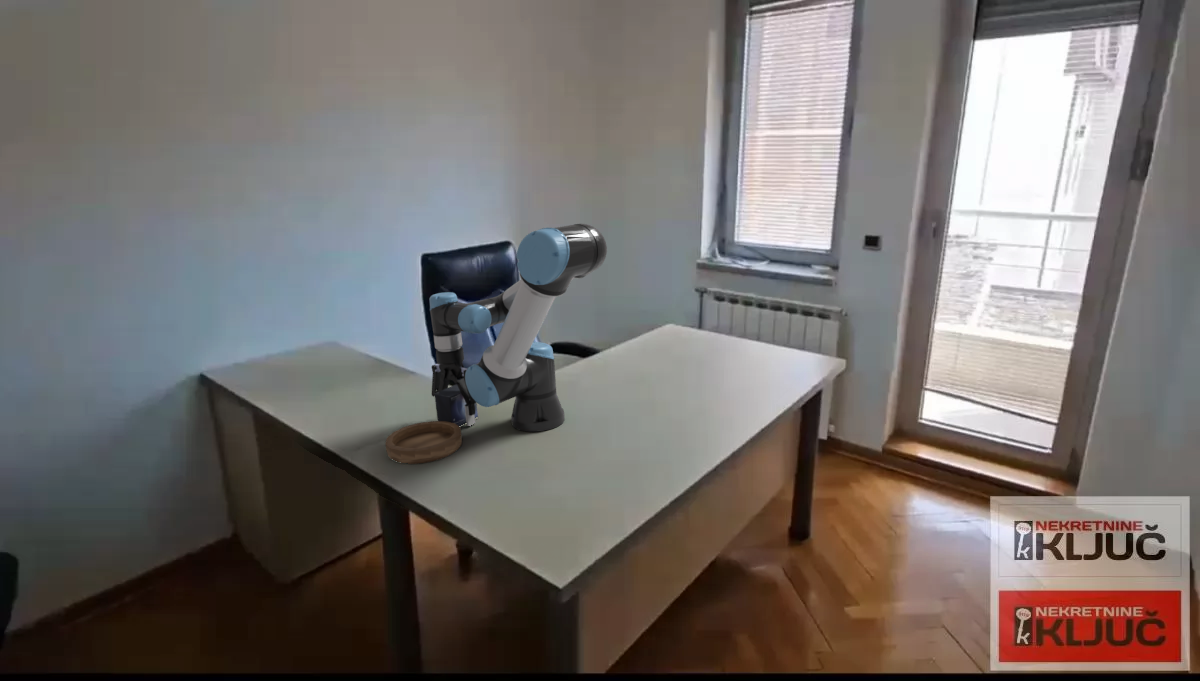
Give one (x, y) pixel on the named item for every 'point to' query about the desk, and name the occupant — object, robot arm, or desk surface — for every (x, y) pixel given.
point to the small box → (451, 406)
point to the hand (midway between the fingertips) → (458, 422)
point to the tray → (424, 442)
